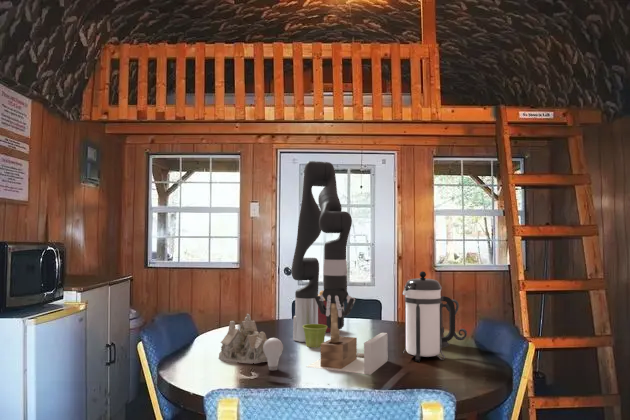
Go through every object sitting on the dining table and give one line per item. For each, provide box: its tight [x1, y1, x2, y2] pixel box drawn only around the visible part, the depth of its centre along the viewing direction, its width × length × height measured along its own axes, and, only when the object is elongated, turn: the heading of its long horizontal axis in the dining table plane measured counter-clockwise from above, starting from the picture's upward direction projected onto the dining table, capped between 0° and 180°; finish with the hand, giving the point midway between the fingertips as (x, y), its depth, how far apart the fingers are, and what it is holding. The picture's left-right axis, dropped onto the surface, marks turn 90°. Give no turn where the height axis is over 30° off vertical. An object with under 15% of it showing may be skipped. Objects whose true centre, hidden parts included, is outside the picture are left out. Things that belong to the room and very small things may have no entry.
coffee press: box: [401, 270, 456, 363], centre depth 182 cm, size 17×16×30 cm
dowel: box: [330, 303, 341, 342], centre depth 164 cm, size 3×3×12 cm
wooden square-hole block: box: [320, 335, 358, 369], centre depth 167 cm, size 7×14×7 cm, turn 156°
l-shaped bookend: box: [306, 332, 389, 375], centre depth 166 cm, size 21×18×10 cm
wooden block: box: [357, 352, 364, 358], centre depth 174 cm, size 10×3×3 cm, turn 66°
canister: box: [318, 289, 331, 333], centre depth 232 cm, size 13×13×18 cm
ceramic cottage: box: [218, 313, 268, 364], centre depth 178 cm, size 16×16×15 cm
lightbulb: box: [263, 337, 284, 371], centre depth 159 cm, size 6×6×11 cm
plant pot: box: [303, 324, 328, 349], centre depth 192 cm, size 9×9×9 cm
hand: (335, 328), depth 164 cm, fingers closed on dowel, 2 cm apart
